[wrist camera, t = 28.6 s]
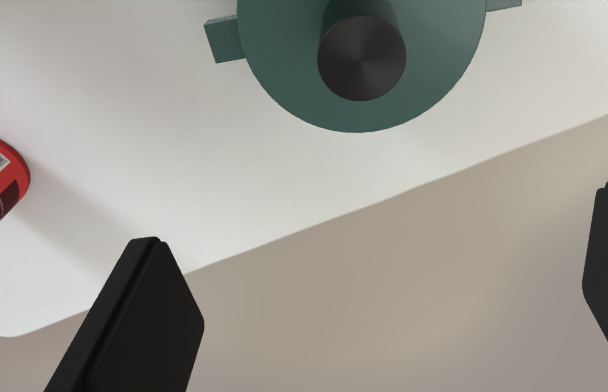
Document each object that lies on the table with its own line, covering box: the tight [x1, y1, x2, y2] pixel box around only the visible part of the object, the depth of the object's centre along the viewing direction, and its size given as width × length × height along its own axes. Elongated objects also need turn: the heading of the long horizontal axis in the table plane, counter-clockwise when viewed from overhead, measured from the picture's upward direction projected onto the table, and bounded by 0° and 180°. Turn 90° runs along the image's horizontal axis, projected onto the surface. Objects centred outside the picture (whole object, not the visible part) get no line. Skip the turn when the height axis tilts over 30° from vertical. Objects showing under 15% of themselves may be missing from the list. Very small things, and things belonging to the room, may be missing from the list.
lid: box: [237, 0, 487, 133], centre depth 24 cm, size 14×14×7 cm
